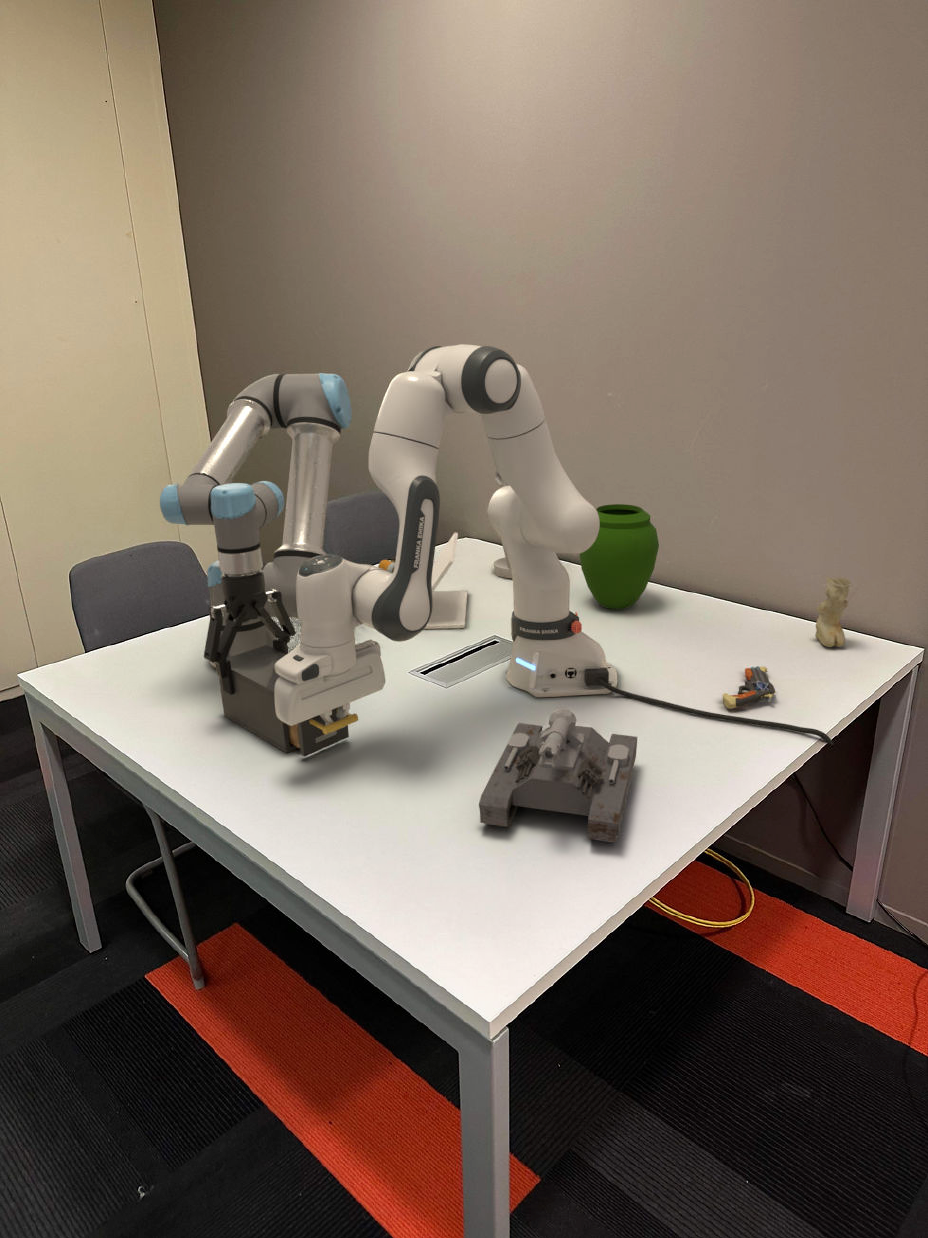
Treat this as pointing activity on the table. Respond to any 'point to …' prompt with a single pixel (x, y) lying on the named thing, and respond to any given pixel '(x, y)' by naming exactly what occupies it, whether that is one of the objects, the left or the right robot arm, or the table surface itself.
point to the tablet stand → (446, 593)
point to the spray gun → (388, 565)
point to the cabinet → (256, 696)
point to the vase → (620, 556)
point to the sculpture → (832, 613)
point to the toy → (562, 775)
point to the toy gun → (751, 689)
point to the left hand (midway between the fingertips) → (256, 682)
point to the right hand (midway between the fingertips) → (335, 729)
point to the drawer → (319, 732)
